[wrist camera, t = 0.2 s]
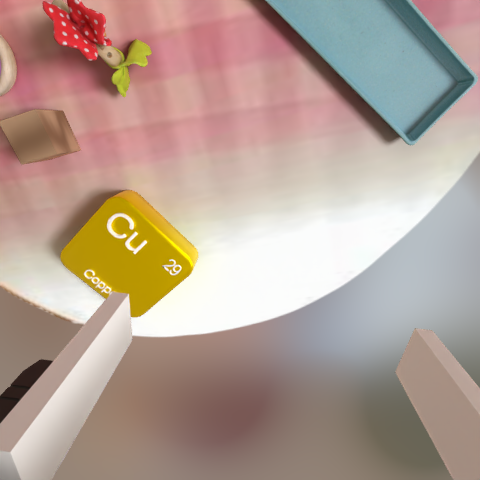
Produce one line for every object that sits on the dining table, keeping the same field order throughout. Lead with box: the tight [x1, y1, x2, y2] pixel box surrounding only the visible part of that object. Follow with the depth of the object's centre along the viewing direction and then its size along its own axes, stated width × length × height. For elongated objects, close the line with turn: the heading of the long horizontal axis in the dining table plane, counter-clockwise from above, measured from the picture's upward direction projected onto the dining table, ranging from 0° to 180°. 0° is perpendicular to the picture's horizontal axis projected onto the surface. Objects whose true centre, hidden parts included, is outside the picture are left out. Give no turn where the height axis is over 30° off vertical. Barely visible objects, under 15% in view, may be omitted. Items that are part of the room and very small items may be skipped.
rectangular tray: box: [265, 0, 478, 145], centre depth 30 cm, size 26×9×2 cm, turn 51°
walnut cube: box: [0, 109, 81, 164], centre depth 35 cm, size 5×5×5 cm
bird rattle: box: [43, 0, 152, 97], centre depth 29 cm, size 6×11×9 cm
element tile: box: [60, 190, 198, 317], centre depth 41 cm, size 15×15×5 cm
